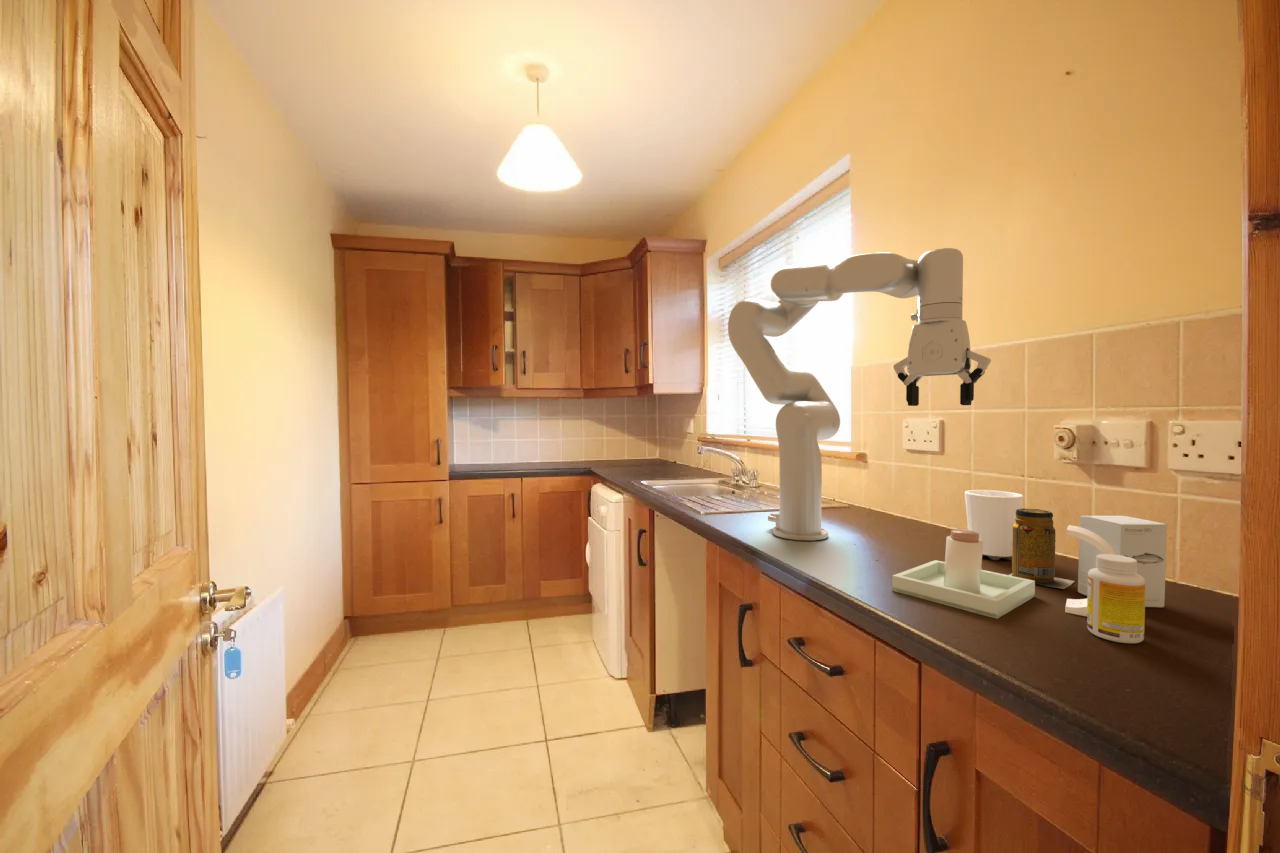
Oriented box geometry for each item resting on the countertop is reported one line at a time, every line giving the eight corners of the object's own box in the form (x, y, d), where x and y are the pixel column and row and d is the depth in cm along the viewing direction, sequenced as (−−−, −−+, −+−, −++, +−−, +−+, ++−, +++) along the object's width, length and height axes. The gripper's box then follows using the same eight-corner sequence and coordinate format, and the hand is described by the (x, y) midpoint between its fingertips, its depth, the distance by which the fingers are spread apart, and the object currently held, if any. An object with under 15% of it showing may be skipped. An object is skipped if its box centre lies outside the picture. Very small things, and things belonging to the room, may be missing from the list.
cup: (953, 550, 113) (953, 490, 112) (997, 549, 113) (998, 489, 113) (986, 563, 103) (987, 497, 103) (1035, 562, 103) (1036, 496, 103)
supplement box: (1118, 609, 79) (1120, 523, 79) (1076, 592, 86) (1077, 514, 86) (1167, 608, 79) (1169, 523, 79) (1120, 592, 87) (1122, 514, 86)
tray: (892, 590, 87) (892, 575, 87) (935, 573, 96) (935, 560, 96) (997, 618, 75) (997, 601, 75) (1034, 596, 84) (1034, 580, 84)
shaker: (939, 588, 86) (943, 531, 85) (948, 581, 89) (951, 526, 89) (975, 597, 82) (979, 537, 82) (983, 589, 86) (986, 532, 86)
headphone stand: (1067, 603, 81) (1068, 524, 81) (1120, 613, 77) (1122, 530, 77) (1064, 612, 78) (1066, 529, 77) (1120, 623, 74) (1122, 536, 73)
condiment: (1016, 570, 98) (1017, 505, 98) (1075, 582, 92) (1076, 512, 91) (1003, 578, 94) (1004, 510, 93) (1063, 591, 87) (1064, 517, 87)
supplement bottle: (1156, 645, 67) (1158, 563, 66) (1111, 645, 67) (1113, 563, 66) (1117, 627, 72) (1119, 552, 72) (1075, 627, 72) (1077, 552, 72)
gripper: (885, 320, 108) (884, 405, 108) (981, 306, 94) (980, 404, 94) (904, 324, 112) (903, 406, 113) (998, 311, 98) (997, 405, 99)
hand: (938, 405), depth 103 cm, fingers open, 9 cm apart
